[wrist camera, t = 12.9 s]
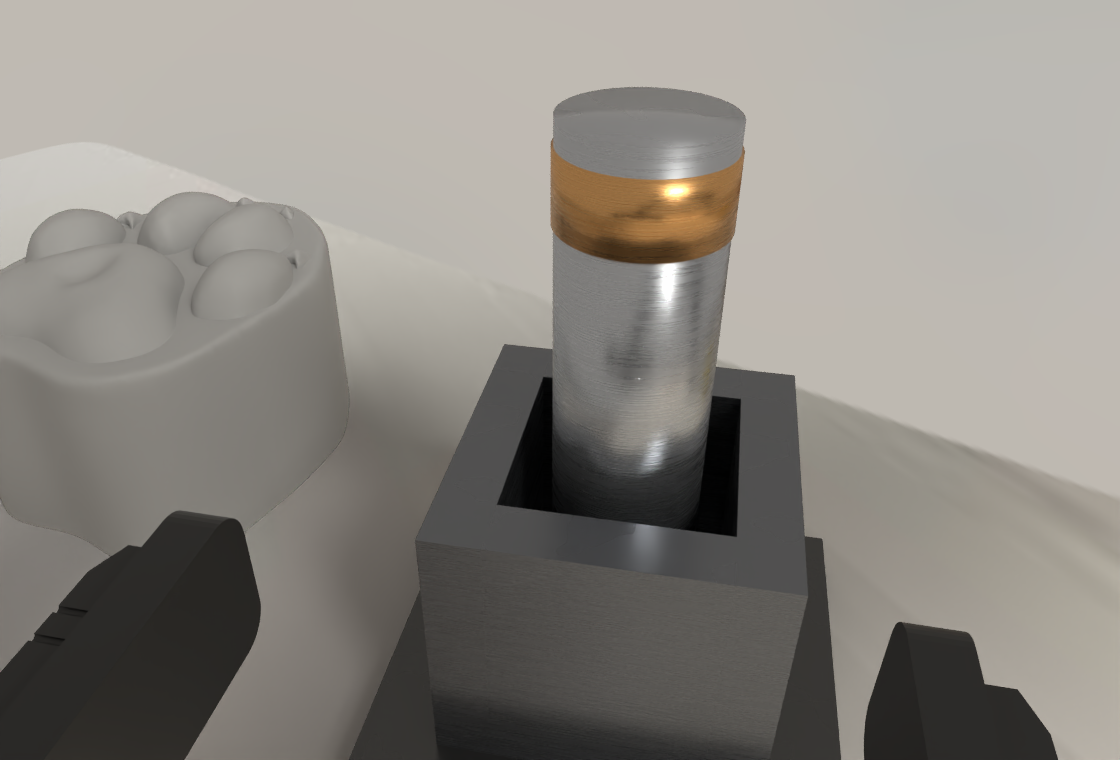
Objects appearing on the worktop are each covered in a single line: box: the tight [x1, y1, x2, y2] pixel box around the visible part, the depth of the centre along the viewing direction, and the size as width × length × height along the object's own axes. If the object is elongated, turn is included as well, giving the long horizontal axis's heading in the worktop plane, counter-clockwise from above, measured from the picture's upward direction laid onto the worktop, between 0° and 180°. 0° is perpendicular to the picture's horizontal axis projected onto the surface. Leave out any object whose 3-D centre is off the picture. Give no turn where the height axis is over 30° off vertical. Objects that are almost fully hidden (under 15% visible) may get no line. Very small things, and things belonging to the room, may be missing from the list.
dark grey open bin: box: [349, 344, 841, 760], centre depth 24 cm, size 12×11×8 cm
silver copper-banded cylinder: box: [551, 87, 746, 532], centre depth 21 cm, size 4×4×14 cm
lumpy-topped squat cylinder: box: [0, 192, 349, 556], centre depth 33 cm, size 10×13×9 cm
